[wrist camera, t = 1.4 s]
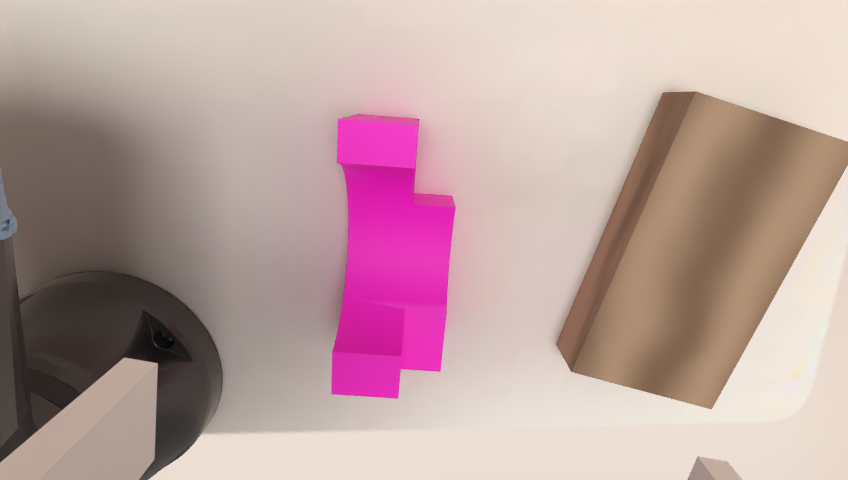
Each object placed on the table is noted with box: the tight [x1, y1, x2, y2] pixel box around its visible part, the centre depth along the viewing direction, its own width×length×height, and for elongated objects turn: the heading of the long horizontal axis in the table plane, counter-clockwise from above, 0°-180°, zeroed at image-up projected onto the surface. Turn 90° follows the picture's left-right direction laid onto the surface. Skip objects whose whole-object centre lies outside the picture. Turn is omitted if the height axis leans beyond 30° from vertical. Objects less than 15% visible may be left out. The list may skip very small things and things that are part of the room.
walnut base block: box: [556, 92, 848, 409], centre depth 30 cm, size 10×18×4 cm, turn 163°
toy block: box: [331, 114, 455, 398], centre depth 28 cm, size 15×6×8 cm, turn 175°
